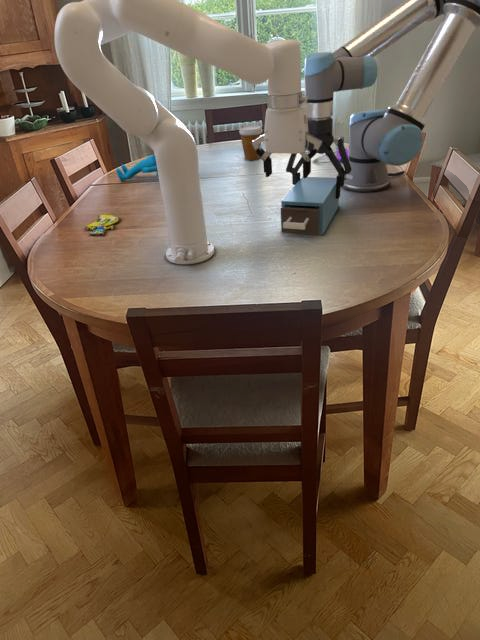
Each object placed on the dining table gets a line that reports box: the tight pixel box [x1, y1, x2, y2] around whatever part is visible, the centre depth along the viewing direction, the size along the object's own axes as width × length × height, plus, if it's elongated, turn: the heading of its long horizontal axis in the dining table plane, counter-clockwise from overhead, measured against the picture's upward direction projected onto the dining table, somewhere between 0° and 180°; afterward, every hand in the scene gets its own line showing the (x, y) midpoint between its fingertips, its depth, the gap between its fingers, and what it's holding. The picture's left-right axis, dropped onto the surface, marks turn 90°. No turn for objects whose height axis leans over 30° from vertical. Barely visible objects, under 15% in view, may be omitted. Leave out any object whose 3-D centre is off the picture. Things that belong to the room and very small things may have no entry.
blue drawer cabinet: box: [280, 176, 340, 236], centre depth 136 cm, size 22×11×9 cm, turn 159°
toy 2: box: [115, 153, 159, 182], centre depth 182 cm, size 17×11×30 cm
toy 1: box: [85, 214, 120, 236], centre depth 147 cm, size 10×1×15 cm
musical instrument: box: [313, 146, 349, 164], centre depth 191 cm, size 24×2×20 cm
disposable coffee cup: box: [238, 124, 263, 161], centre depth 196 cm, size 10×10×12 cm
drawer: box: [280, 205, 320, 236], centre depth 131 cm, size 26×10×7 cm, turn 159°
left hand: (287, 175), depth 120 cm, fingers open, 9 cm apart
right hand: (317, 196), depth 142 cm, fingers closed on blue drawer cabinet, 11 cm apart
